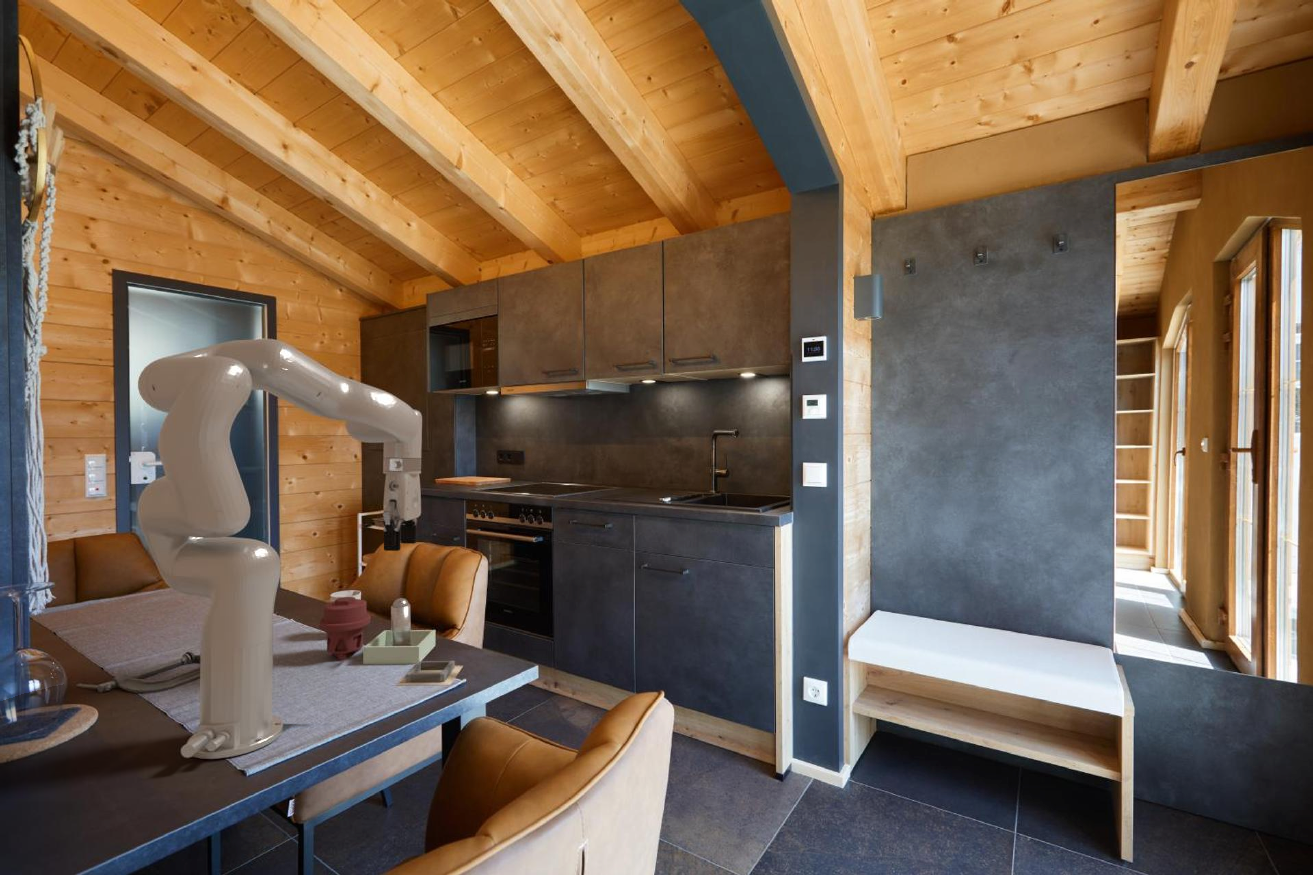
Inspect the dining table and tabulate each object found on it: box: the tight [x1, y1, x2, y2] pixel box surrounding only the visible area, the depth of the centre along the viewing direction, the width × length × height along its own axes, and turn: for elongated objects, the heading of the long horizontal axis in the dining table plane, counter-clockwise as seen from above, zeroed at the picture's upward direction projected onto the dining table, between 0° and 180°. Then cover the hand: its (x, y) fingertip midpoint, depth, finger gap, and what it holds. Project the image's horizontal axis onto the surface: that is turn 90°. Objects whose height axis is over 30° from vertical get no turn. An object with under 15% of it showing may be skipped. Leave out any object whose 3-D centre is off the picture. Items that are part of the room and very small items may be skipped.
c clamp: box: [75, 651, 200, 694], centre depth 124 cm, size 20×17×3 cm
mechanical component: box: [318, 597, 371, 661], centre depth 136 cm, size 12×10×10 cm
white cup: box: [330, 589, 362, 602], centre depth 150 cm, size 7×7×10 cm
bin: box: [362, 629, 437, 665], centre depth 134 cm, size 11×11×5 cm
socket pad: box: [395, 660, 464, 687], centre depth 122 cm, size 10×10×3 cm
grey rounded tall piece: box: [390, 597, 413, 646], centre depth 134 cm, size 5×5×13 cm
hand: (400, 546), depth 133 cm, fingers open, 9 cm apart
